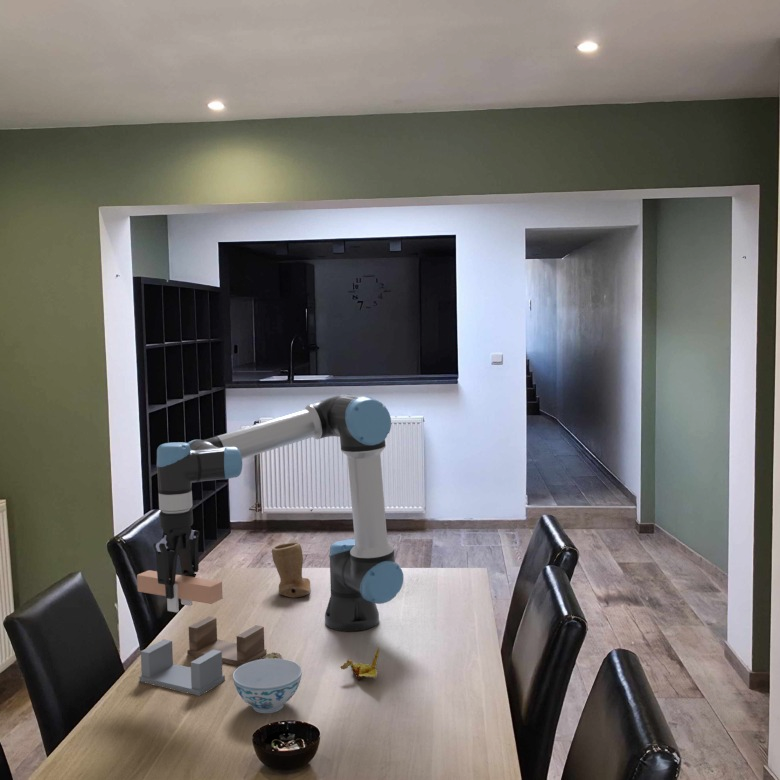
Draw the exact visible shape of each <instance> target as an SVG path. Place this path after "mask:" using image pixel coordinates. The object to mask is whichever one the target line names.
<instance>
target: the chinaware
mask: <svg viewBox="0 0 780 780" xmlns="http://www.w3.org/2000/svg"><path fill="white" fill-rule="evenodd" d="M302 675H303V670H302V666H301V665H299V664H298V663H297V662H296V661H293V660H289V659H285V658H283V659H277V658H270V659H262V658H259V659H257V660H255V661H251V662H248V663H246V664H243V665H241V666H237V668H236V669H235V670H234V671H233V674H232V681H233V683H234V687H235V690H236V692H237V693H238V695H239V697H241V699H242V700H243V701H244V702H245V703H247V704H248V705H249V706H251V707H252V708H253V711H255V712H257V713H260V714H273V713H276V712H279V711H281V710H282V709H283V708H284V706H285V704H286V703H287V702H288V701H289V700H290V699H292V697H293V696H294V695H295V694H296V692H297V690H298V688H299V686H300V684H301V680H302Z"/></svg>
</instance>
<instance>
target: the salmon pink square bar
mask: <svg viewBox="0 0 780 780" xmlns="http://www.w3.org/2000/svg"><path fill="white" fill-rule="evenodd" d="M169 579H170V578H169ZM136 584H137V592H139V593H140V592H141V593H145V594H151V595H155V596H156V595H157V596H163V597H166V592H165V585H164V584H159V583H158V577H157V570H152V569H151V570H150V569H149V570H146V571H144V572H141V573H138V574H137V575H136ZM175 584H178V600H181V599H185V600H190V601H192V602H197V603H203V604H209V605H212V604H215V603H218V601H221V600H223V599H224V597H223V581H220V580H215V579H206V578H201V577H189V576H183V574H176V577H175Z"/></svg>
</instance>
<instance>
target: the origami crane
mask: <svg viewBox="0 0 780 780" xmlns="http://www.w3.org/2000/svg"><path fill="white" fill-rule="evenodd" d="M379 653H380V647H378V646H377V648H376V649H375V652H374V654H373V659H372V662H371V664H369V663H367V664H366V663H360V662H358V663H356V664H355V663H354V661H353V660H352V659H347V660H346V662H343V664H342V665H341V666H340V667H339V668H340V669H341V670H346V669H348V668H349V667H350V668H351V672H353V673H354V675H355V677H356V680H358V681H359V680H360V681H362V679H361V678H363V677H366V678H373V679H377V677H378V676H377V675H378V671H379V669H377V663H378V660H379Z"/></svg>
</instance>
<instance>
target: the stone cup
mask: <svg viewBox="0 0 780 780" xmlns="http://www.w3.org/2000/svg"><path fill="white" fill-rule="evenodd" d="M271 555H272V556H271V557H272V561H273V564H274V566H275V569H276V571H277V573H278V577H279V579H280V582H279V584H278V594H280V595H282V596H285V597H289V598H300V597H305V596H306V595H308V594H310V591H311V580H310V579H309V578H306V577H303V562H304V557H303V556H304V555H303V548H302V545H301V544H300V543H299V542H295V541H294V542H287V543H280V544H277V545H274V546H273V547H272V548H271Z"/></svg>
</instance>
